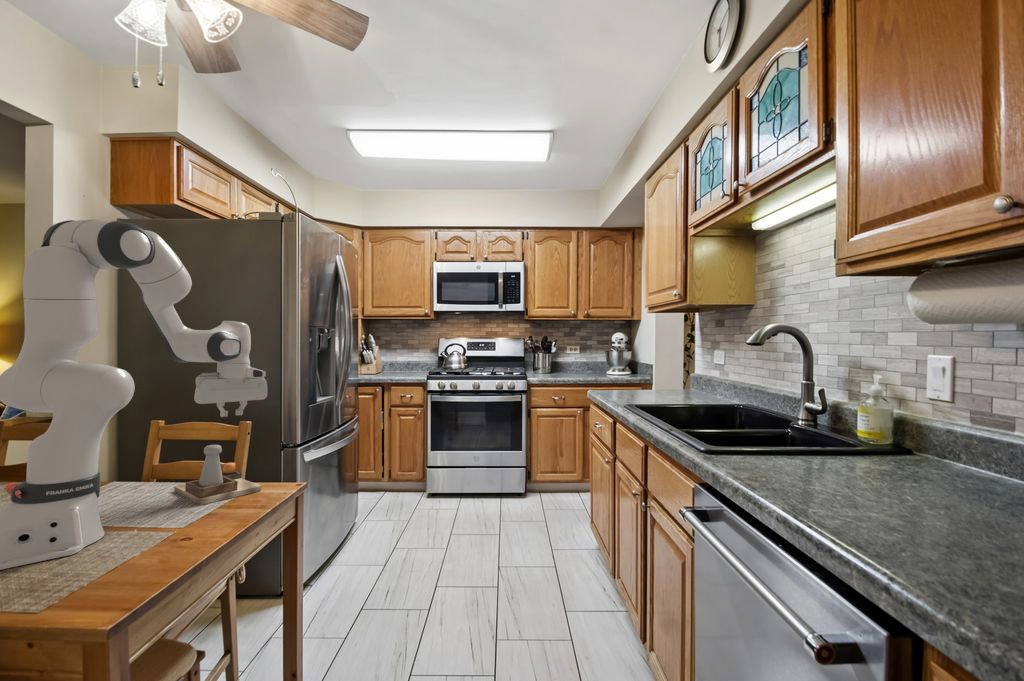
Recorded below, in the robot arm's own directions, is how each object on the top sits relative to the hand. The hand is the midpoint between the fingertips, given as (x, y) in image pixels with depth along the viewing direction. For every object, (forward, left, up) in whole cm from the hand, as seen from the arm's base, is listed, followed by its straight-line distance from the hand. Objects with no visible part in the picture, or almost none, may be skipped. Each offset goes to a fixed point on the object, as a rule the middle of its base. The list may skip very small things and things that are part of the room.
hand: (231, 415), depth 142 cm
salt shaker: (-9, -9, -20) cm, 23 cm away
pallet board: (-5, -6, -21) cm, 23 cm away
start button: (0, 0, -18) cm, 18 cm away
